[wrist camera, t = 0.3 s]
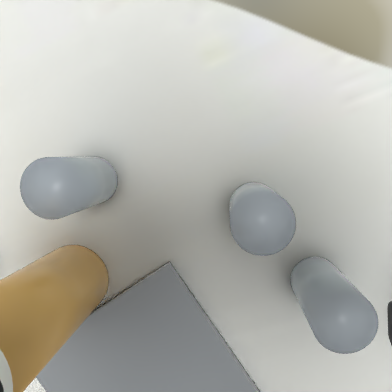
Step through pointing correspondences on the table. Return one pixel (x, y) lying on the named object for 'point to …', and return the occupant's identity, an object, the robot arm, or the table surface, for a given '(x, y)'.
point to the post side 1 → (260, 219)
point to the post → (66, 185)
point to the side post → (333, 306)
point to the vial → (46, 310)
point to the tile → (147, 345)
